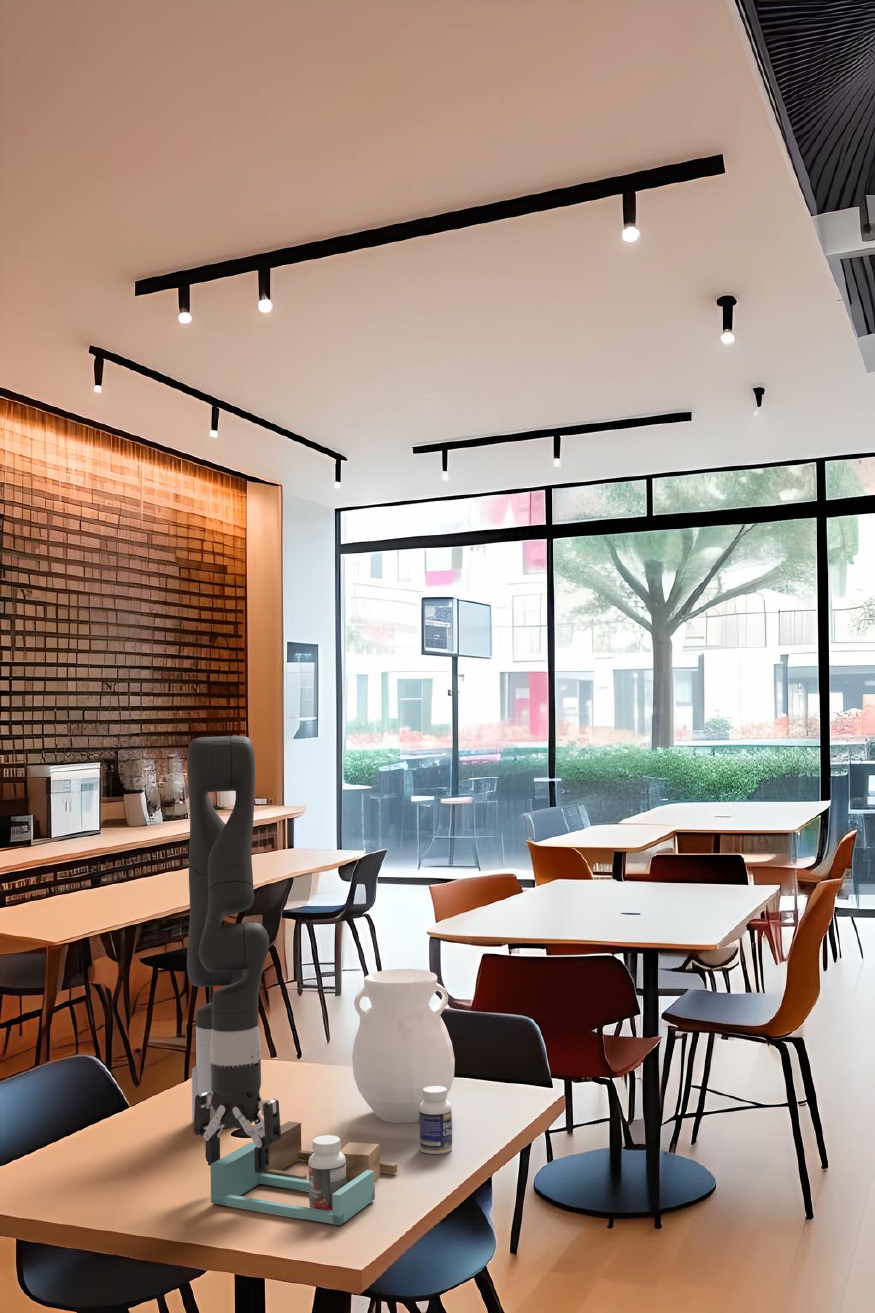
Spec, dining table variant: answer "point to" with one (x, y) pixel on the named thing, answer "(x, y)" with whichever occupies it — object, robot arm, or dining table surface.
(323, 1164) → the pill bottle
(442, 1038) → the white vase
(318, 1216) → the frame
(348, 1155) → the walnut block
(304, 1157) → the walnut lane broken
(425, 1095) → the pill bottle
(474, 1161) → the dining table surface
